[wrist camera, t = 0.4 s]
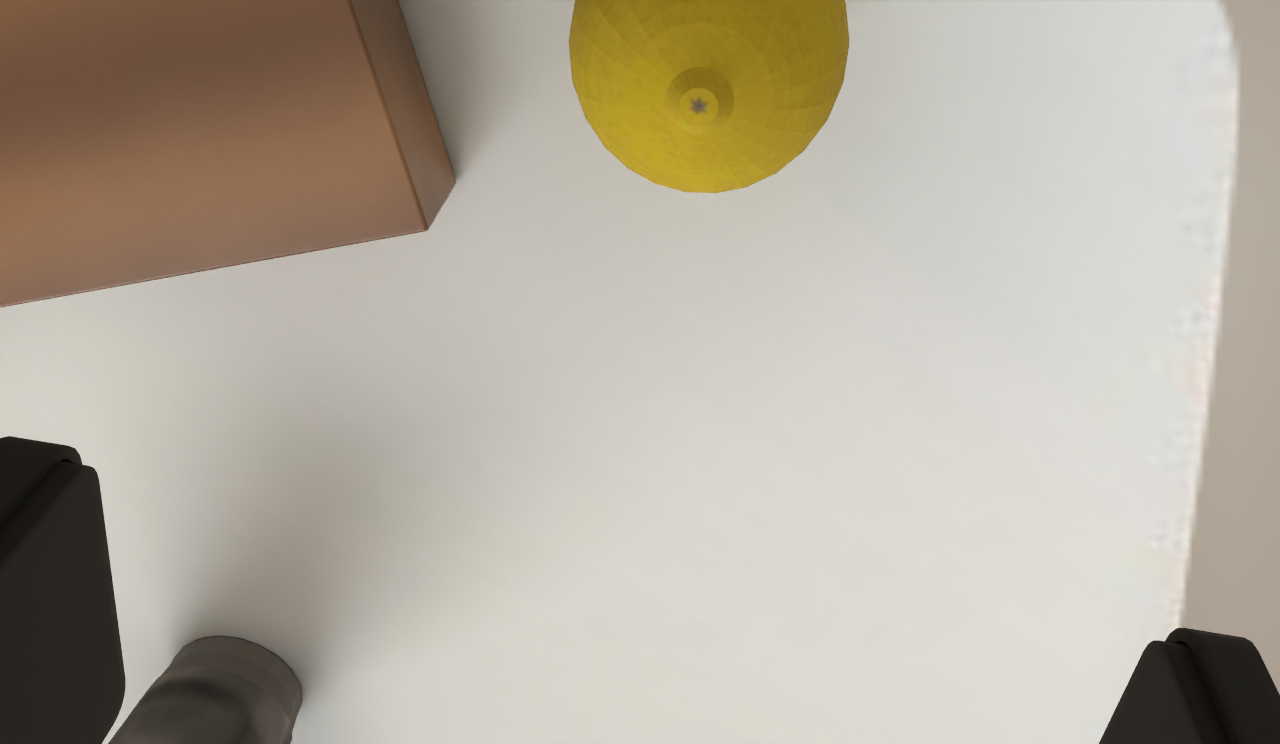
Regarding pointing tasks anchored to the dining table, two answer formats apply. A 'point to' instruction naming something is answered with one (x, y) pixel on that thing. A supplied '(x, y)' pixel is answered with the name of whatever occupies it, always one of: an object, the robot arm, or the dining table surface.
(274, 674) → the beverage cup
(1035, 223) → the dining table surface
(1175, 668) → the robot arm
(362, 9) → the stand
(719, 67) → the lemon
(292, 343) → the dining table surface
